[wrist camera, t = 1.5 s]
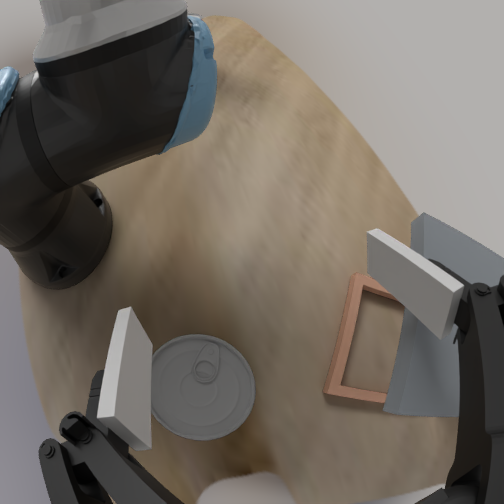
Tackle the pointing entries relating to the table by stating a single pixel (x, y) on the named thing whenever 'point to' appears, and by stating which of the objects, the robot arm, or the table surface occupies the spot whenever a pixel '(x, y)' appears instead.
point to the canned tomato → (201, 387)
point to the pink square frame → (345, 340)
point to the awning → (427, 343)
